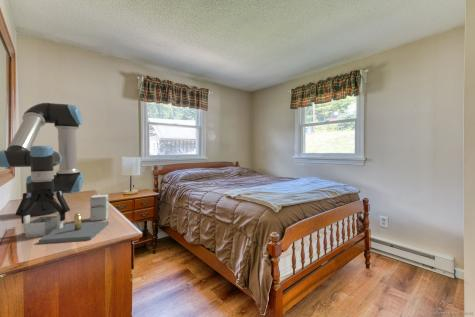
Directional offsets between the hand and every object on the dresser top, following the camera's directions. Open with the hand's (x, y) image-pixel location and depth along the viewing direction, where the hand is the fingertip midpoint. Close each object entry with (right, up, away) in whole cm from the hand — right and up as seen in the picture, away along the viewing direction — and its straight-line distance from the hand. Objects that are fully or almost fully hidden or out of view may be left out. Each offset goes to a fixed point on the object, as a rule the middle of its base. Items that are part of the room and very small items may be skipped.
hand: (44, 229), depth 96 cm
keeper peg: (+15, 0, 0) cm, 15 cm away
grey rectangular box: (-1, -2, 0) cm, 2 cm away
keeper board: (+15, -2, 0) cm, 15 cm away
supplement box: (+11, -1, +21) cm, 24 cm away
